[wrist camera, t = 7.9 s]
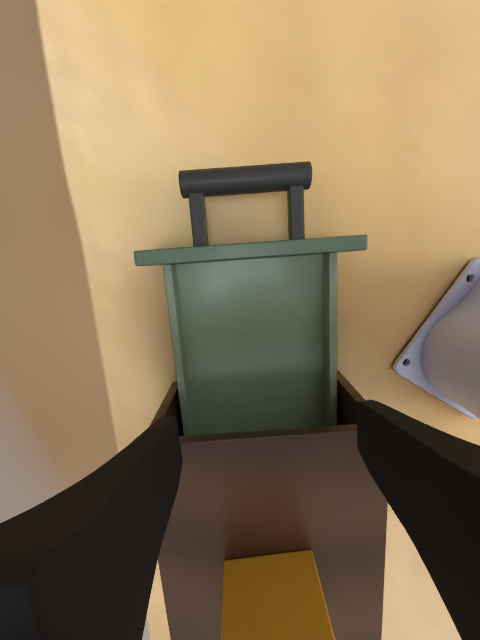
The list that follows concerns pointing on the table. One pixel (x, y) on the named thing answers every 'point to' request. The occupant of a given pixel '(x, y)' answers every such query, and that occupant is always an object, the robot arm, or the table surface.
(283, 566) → the cube
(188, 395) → the drawer
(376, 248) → the table surface
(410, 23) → the table surface
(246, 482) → the cabinet
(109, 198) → the table surface
